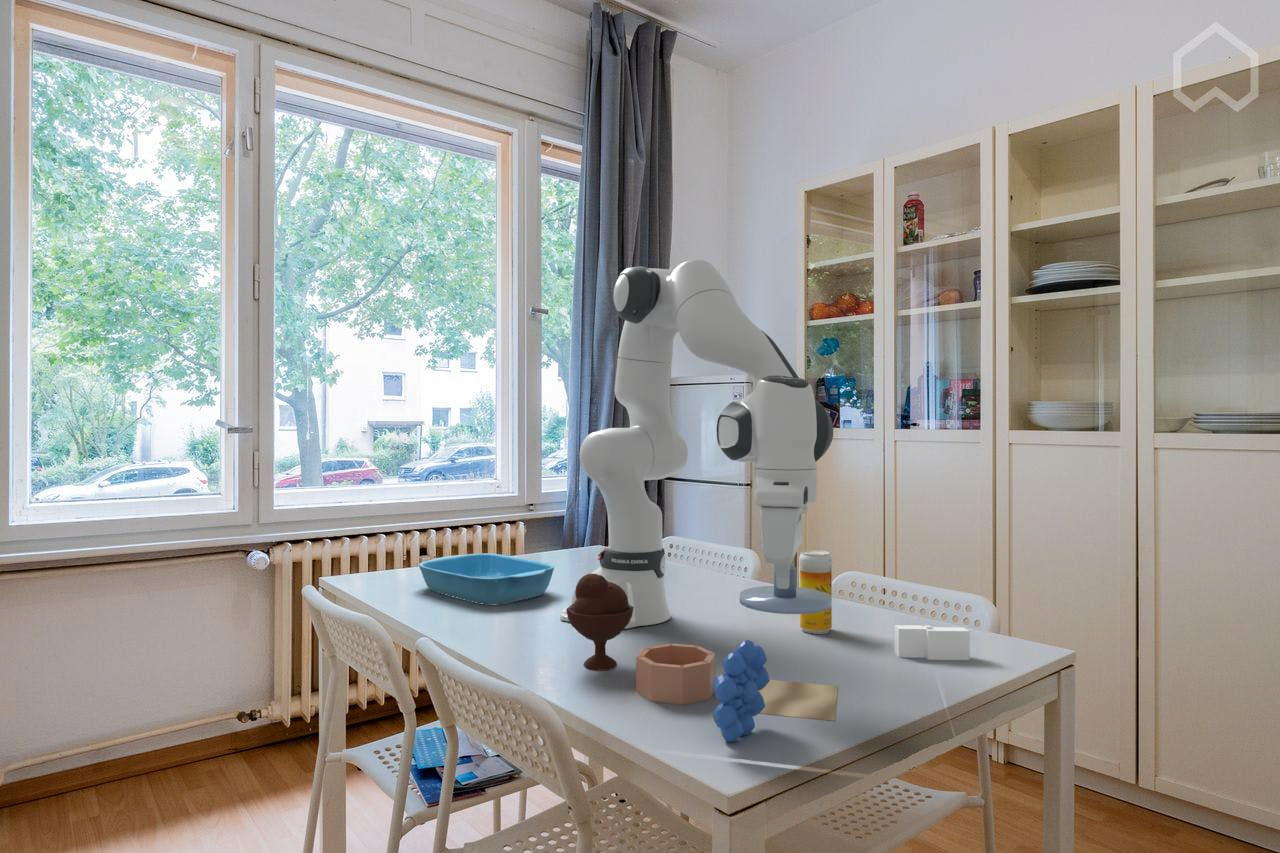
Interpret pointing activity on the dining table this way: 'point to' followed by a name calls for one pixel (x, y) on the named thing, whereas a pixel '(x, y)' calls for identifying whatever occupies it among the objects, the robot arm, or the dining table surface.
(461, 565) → the casserole dish
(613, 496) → the robot arm
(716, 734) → the dining table surface
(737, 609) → the dining table surface
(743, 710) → the grapes
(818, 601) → the lid
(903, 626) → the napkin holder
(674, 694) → the bowl
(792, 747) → the dining table surface
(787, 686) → the plate
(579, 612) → the ice cream bowl
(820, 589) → the beer can
